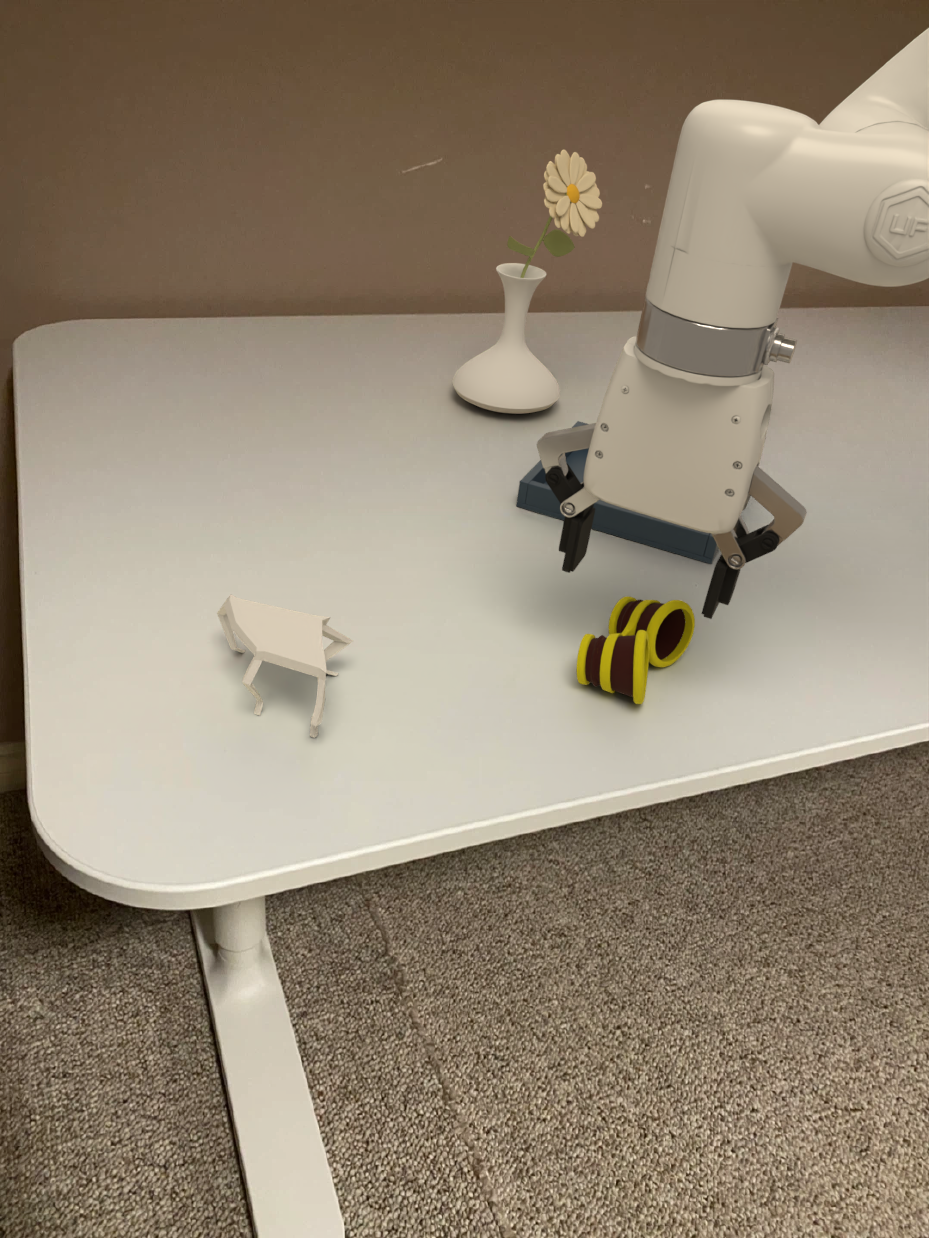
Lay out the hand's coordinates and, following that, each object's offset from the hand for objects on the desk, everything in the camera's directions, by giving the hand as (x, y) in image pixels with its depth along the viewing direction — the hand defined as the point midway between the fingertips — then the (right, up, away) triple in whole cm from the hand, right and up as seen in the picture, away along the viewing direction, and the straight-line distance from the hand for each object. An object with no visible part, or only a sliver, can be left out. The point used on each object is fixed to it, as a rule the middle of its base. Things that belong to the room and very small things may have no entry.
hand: (641, 585), depth 72 cm
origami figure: (-24, -7, -1) cm, 25 cm away
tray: (+4, +9, +26) cm, 28 cm away
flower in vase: (-7, +21, +42) cm, 48 cm away
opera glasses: (0, -6, +4) cm, 7 cm away
